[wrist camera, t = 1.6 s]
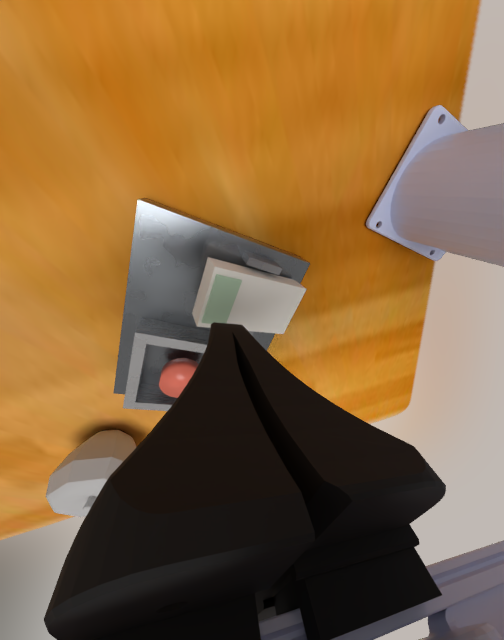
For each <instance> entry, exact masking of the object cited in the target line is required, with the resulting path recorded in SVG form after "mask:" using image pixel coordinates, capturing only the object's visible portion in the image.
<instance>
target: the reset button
mask: <svg viewBox="0 0 504 640" xmlns="http://www.w3.org/2000/svg"><path fill="white" fill-rule="evenodd" d="M198 365H199V364H198V363H197V362H196V361H194V360H191V359H188V358H177V359H173V360H171V361H169V362H167V363H166V364H165V365H164V366H163V368H162V371H161V376H160V381H159V387H160V389H161V391H162V392H163V393H164V394H166V395H168V396H170V397H175V398H178V397H179V395H180V394H181V392H182V391H183V389H184V388H185V387H186V385H187V384H188V382H189V380H190V379H191V377H192V375H193V374H194V372H195V370H196V368H197V367H198Z"/></svg>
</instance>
